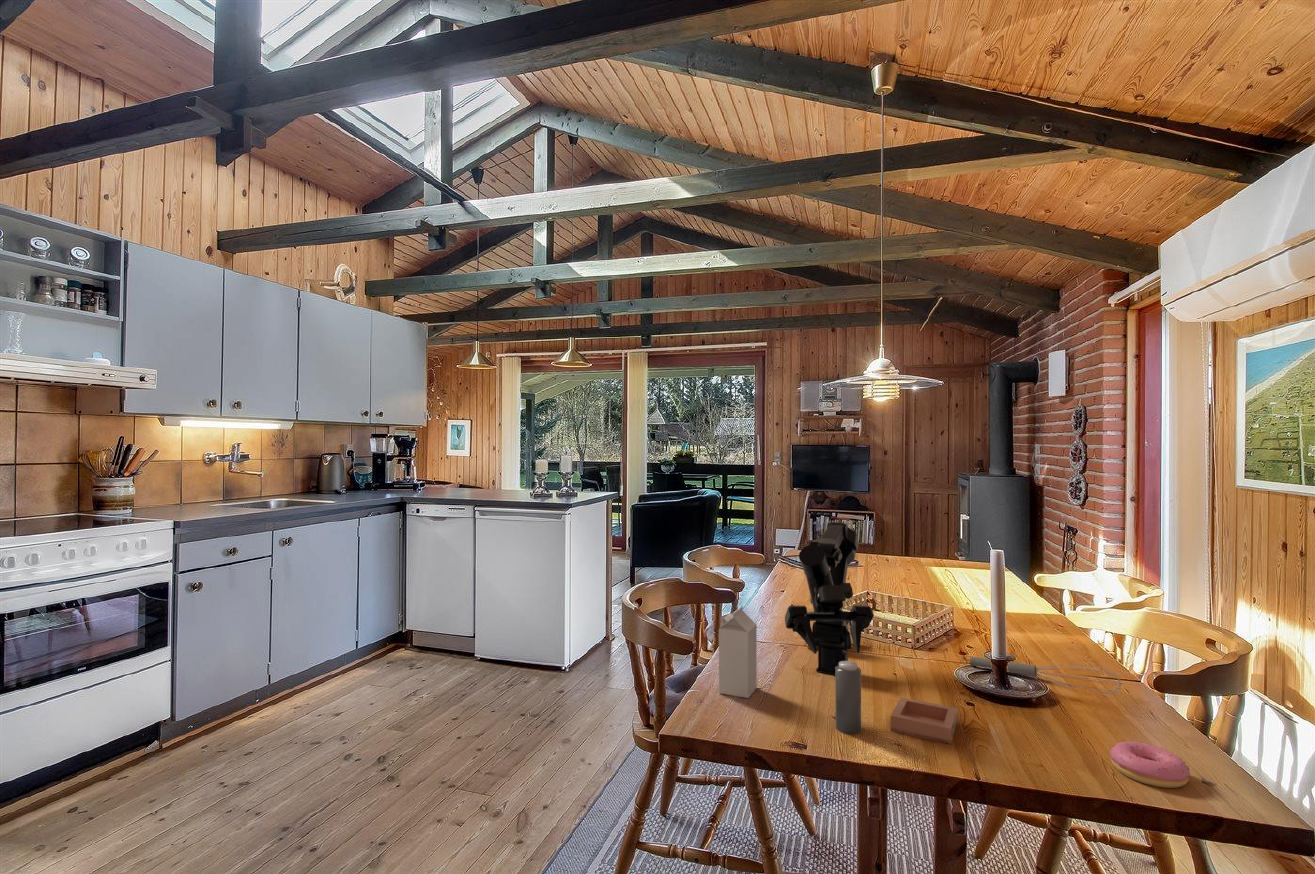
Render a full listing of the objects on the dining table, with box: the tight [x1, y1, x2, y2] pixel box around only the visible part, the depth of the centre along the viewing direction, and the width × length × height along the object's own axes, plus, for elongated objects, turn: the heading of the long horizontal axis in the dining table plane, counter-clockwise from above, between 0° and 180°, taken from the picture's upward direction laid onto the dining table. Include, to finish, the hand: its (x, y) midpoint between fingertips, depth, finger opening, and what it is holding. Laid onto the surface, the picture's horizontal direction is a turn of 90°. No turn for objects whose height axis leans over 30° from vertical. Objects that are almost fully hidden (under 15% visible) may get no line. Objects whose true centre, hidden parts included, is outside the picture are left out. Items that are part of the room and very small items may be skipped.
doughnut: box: [1108, 740, 1191, 789], centre depth 106 cm, size 11×11×4 cm
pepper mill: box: [834, 660, 862, 735], centre depth 123 cm, size 5×5×13 cm
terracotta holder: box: [890, 696, 958, 745], centre depth 124 cm, size 11×11×3 cm
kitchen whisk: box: [961, 655, 1123, 697], centre depth 150 cm, size 6×34×6 cm, turn 49°
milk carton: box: [718, 605, 758, 699], centre depth 143 cm, size 7×7×19 cm
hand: (837, 652), depth 130 cm, fingers open, 9 cm apart
